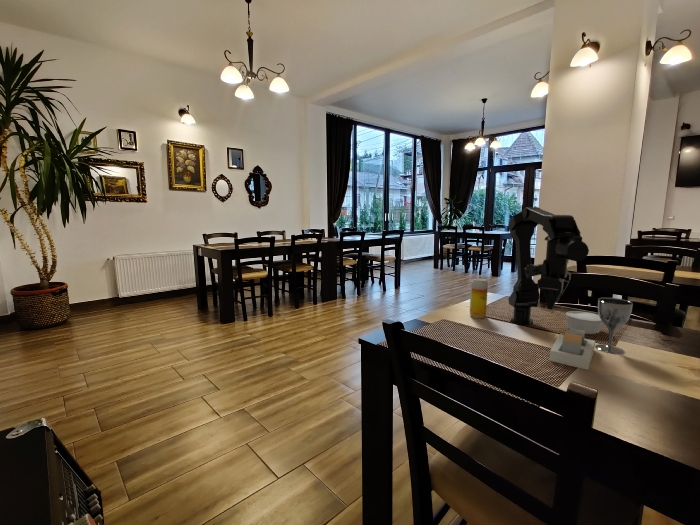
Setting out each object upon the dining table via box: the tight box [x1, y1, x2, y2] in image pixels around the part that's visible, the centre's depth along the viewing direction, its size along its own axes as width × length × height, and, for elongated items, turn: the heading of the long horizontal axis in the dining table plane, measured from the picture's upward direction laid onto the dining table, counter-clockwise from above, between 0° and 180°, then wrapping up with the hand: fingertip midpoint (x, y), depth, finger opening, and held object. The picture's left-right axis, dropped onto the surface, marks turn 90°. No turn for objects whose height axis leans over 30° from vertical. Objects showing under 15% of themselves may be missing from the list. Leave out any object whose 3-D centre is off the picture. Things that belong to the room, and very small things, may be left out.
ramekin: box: [565, 310, 604, 335], centre depth 117 cm, size 11×11×5 cm
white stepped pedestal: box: [549, 328, 596, 371], centre depth 96 cm, size 16×9×6 cm, turn 140°
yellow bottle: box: [469, 277, 489, 319], centre depth 132 cm, size 6×6×15 cm
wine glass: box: [594, 297, 634, 355], centre depth 100 cm, size 8×8×15 cm
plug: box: [562, 332, 582, 355], centre depth 93 cm, size 4×4×6 cm
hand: (552, 305), depth 105 cm, fingers open, 9 cm apart
